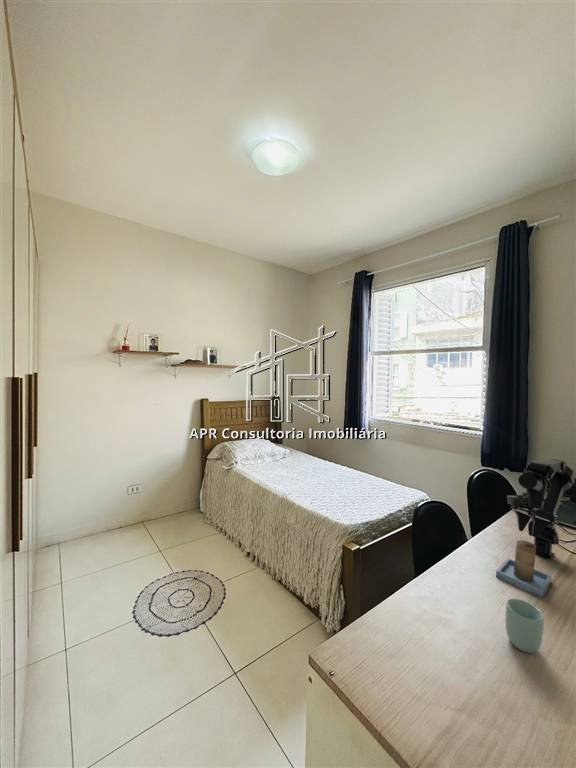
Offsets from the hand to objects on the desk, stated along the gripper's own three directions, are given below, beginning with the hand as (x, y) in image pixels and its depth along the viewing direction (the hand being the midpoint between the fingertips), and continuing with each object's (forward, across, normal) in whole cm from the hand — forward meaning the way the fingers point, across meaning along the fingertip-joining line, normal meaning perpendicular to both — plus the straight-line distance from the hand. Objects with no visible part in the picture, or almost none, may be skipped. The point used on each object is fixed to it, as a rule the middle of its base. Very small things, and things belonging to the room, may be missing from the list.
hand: (526, 533), depth 116 cm
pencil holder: (+14, +6, -1) cm, 16 cm away
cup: (+27, +36, -13) cm, 47 cm away
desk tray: (+15, +6, -1) cm, 16 cm away
